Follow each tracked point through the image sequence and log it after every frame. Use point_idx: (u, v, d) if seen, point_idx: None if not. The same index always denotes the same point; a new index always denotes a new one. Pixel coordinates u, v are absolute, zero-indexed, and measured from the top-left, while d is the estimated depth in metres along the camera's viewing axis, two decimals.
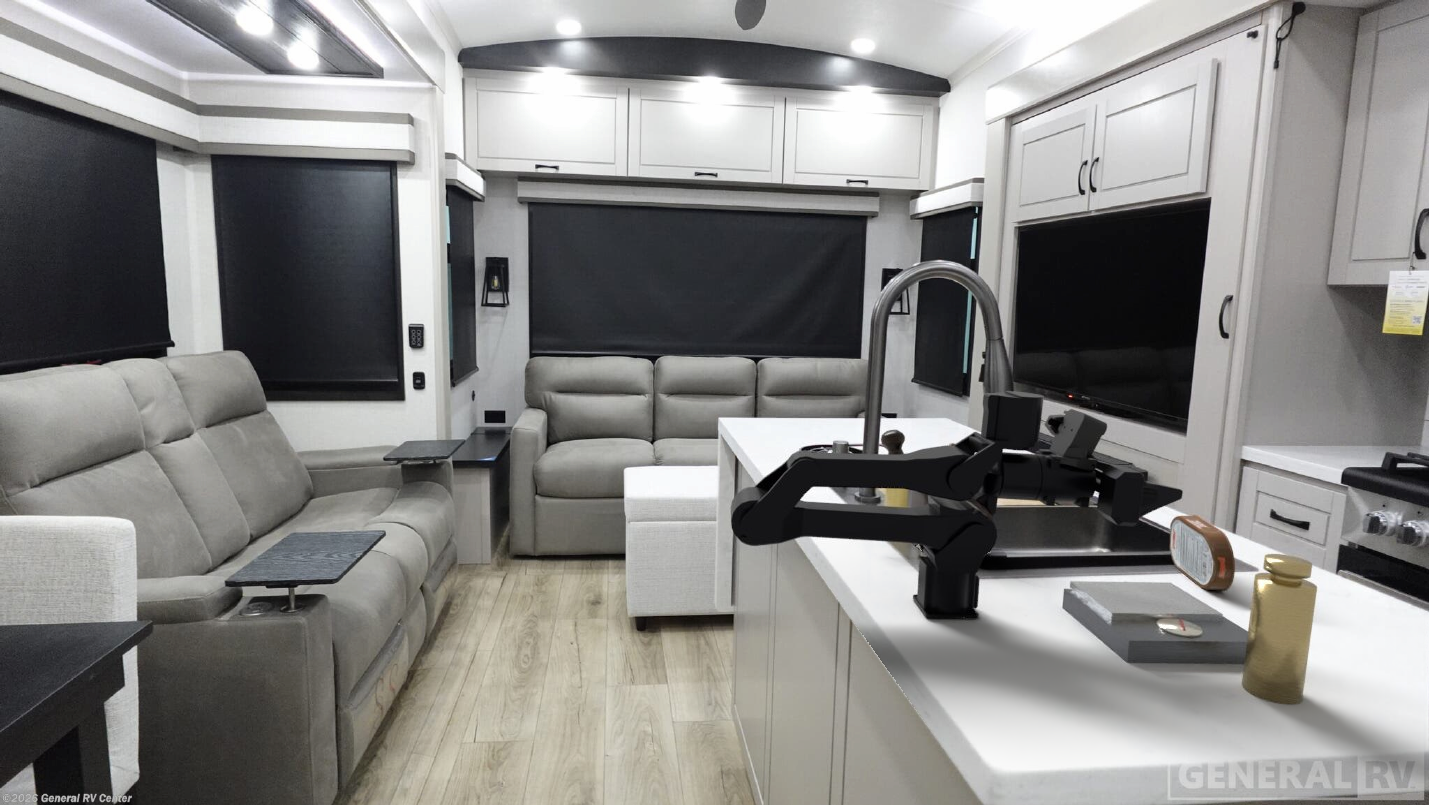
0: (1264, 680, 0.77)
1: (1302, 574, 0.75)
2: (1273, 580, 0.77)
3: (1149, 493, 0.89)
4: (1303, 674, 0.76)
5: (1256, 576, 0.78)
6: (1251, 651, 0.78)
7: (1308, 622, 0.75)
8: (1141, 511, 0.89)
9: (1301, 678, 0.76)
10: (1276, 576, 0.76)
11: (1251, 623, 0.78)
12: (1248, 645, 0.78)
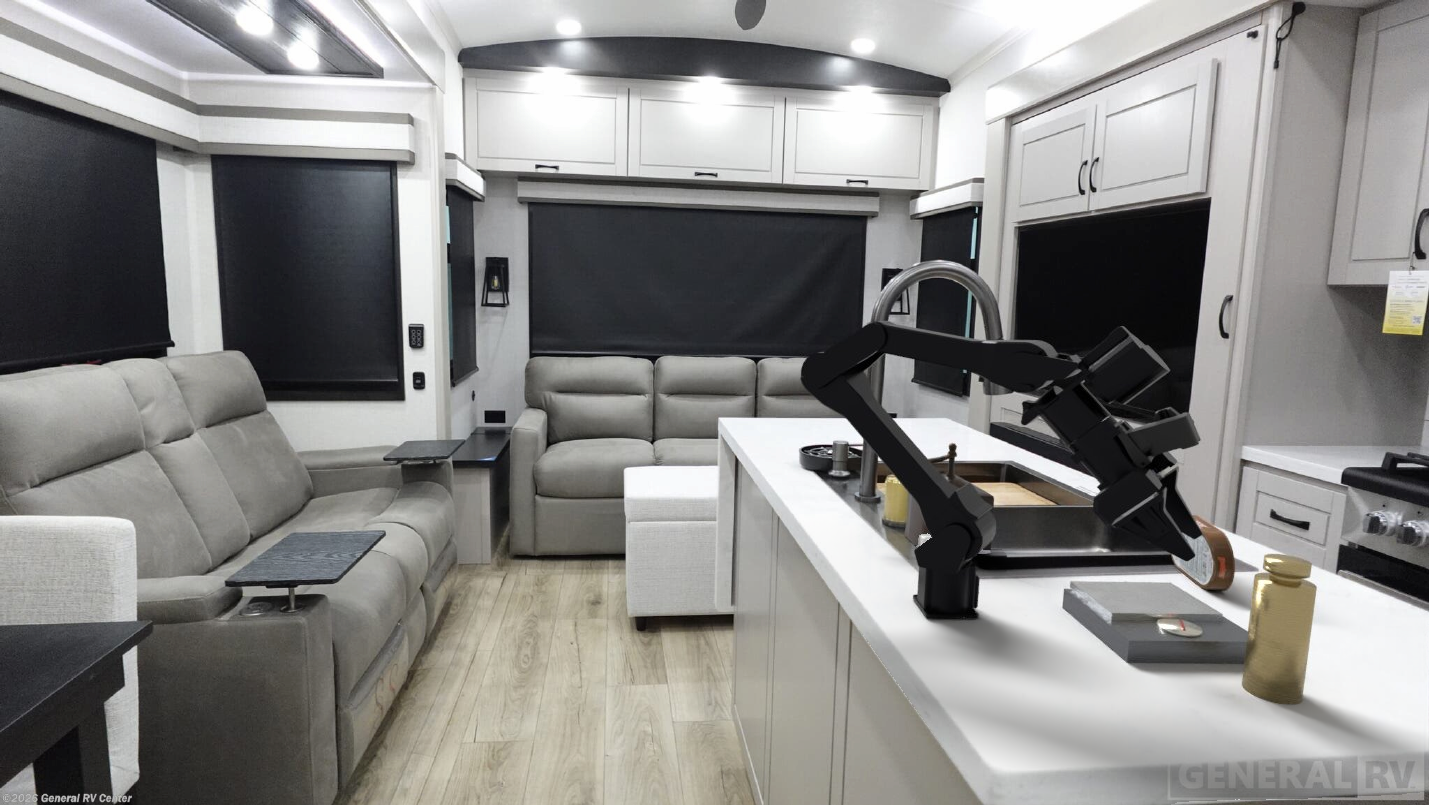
0: (1264, 680, 0.77)
1: (1302, 574, 0.75)
2: (1273, 580, 0.77)
3: (1158, 524, 0.78)
4: (1303, 674, 0.76)
5: (1256, 576, 0.78)
6: (1251, 651, 0.78)
7: (1308, 622, 0.75)
8: (1133, 529, 0.79)
9: (1301, 678, 0.76)
10: (1276, 576, 0.76)
11: (1251, 623, 0.78)
12: (1248, 645, 0.78)
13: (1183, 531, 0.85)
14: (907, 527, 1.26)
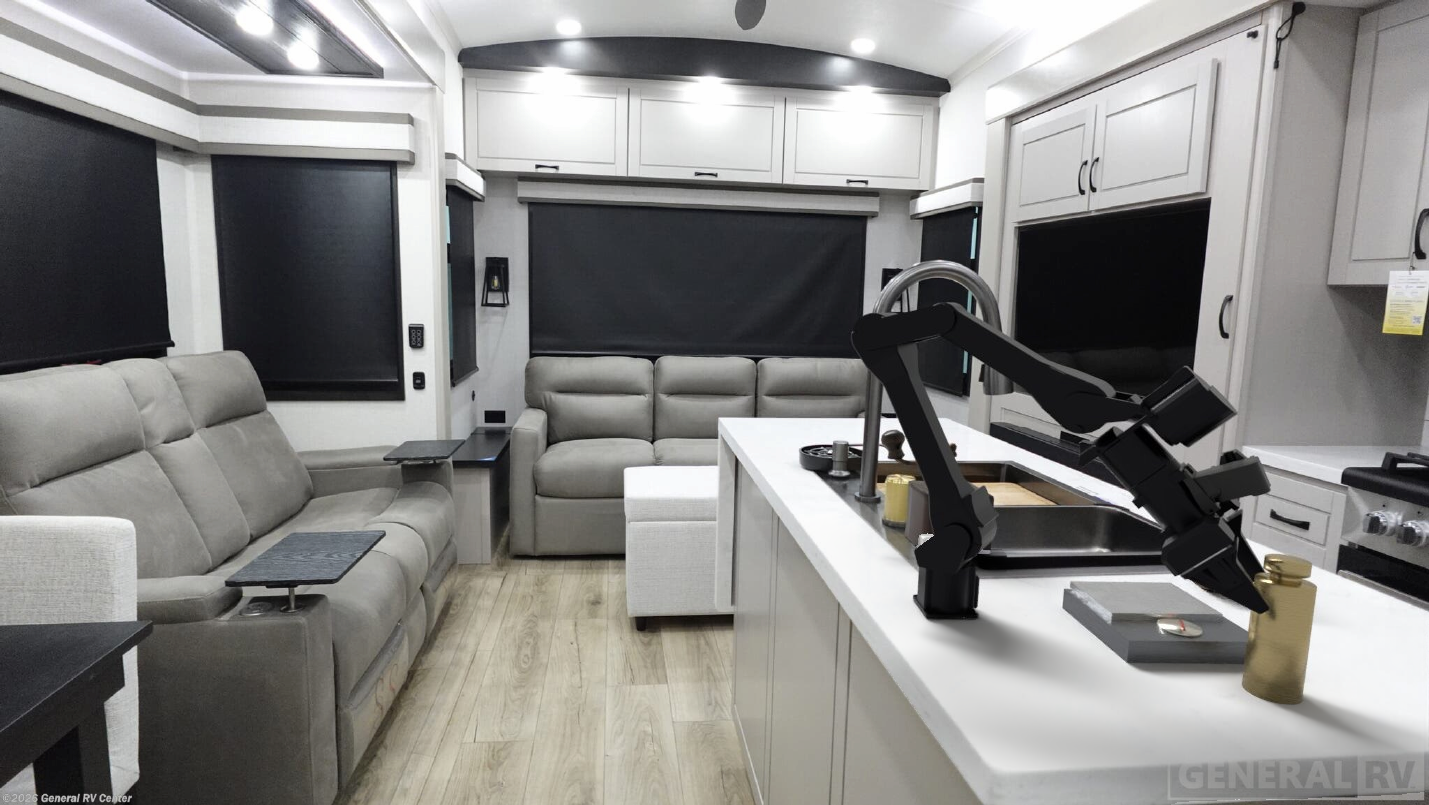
0: (1264, 679, 0.77)
1: (1302, 574, 0.75)
2: (1273, 580, 0.77)
3: (1230, 575, 0.75)
4: (1303, 674, 0.76)
5: (1256, 576, 0.78)
6: (1251, 650, 0.78)
7: (1308, 622, 0.75)
8: (1203, 580, 0.75)
9: (1301, 678, 0.76)
10: (1276, 576, 0.76)
11: (1251, 623, 0.78)
12: (1248, 645, 0.78)
13: (1249, 578, 0.82)
14: (907, 527, 1.26)
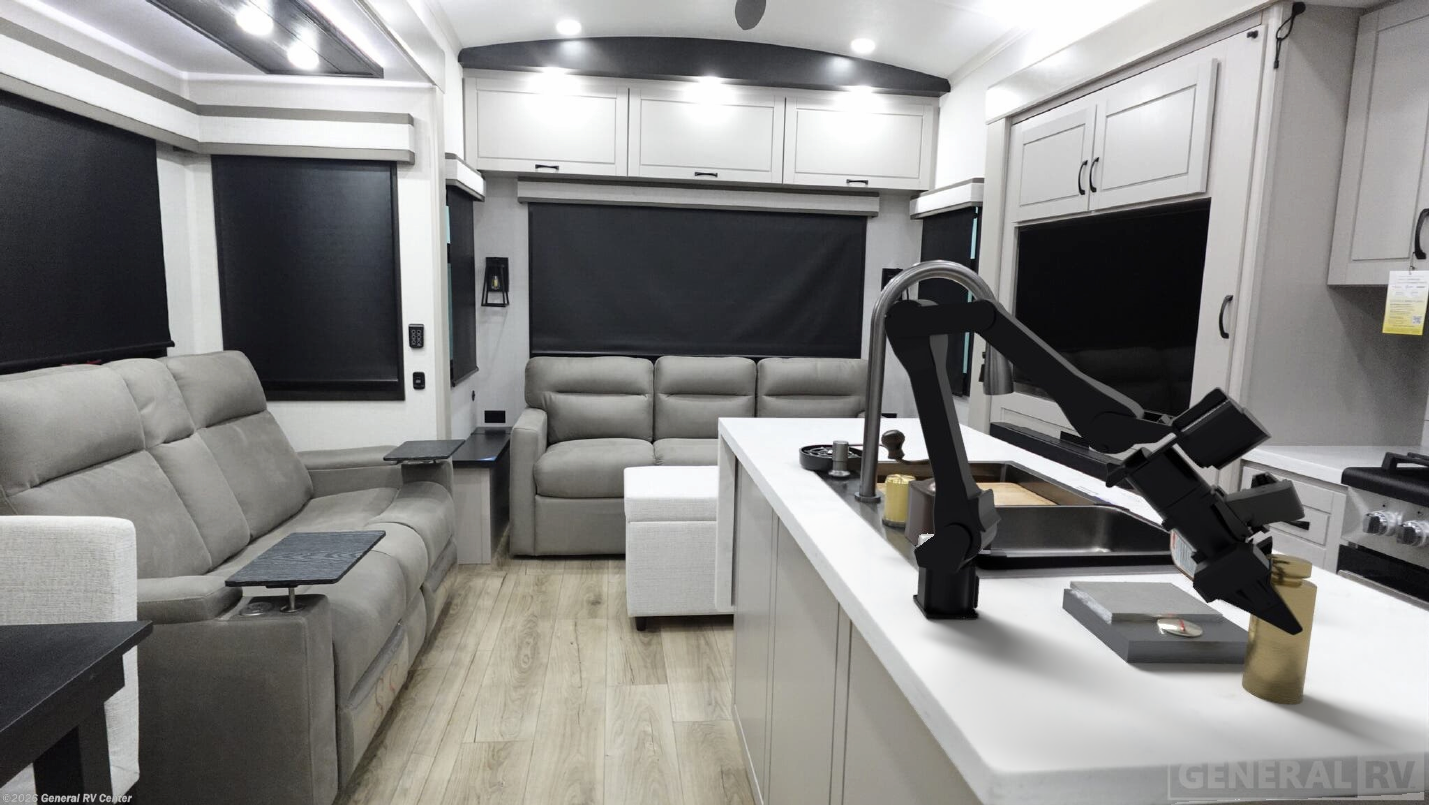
0: (1264, 679, 0.77)
1: (1302, 574, 0.75)
2: (1273, 580, 0.77)
3: (1263, 596, 0.75)
4: (1303, 674, 0.76)
5: None
6: (1251, 651, 0.78)
7: (1308, 622, 0.75)
8: (1236, 600, 0.76)
9: (1301, 678, 0.76)
10: (1276, 576, 0.76)
11: (1251, 623, 0.78)
12: (1248, 645, 0.78)
13: None
14: (907, 527, 1.26)
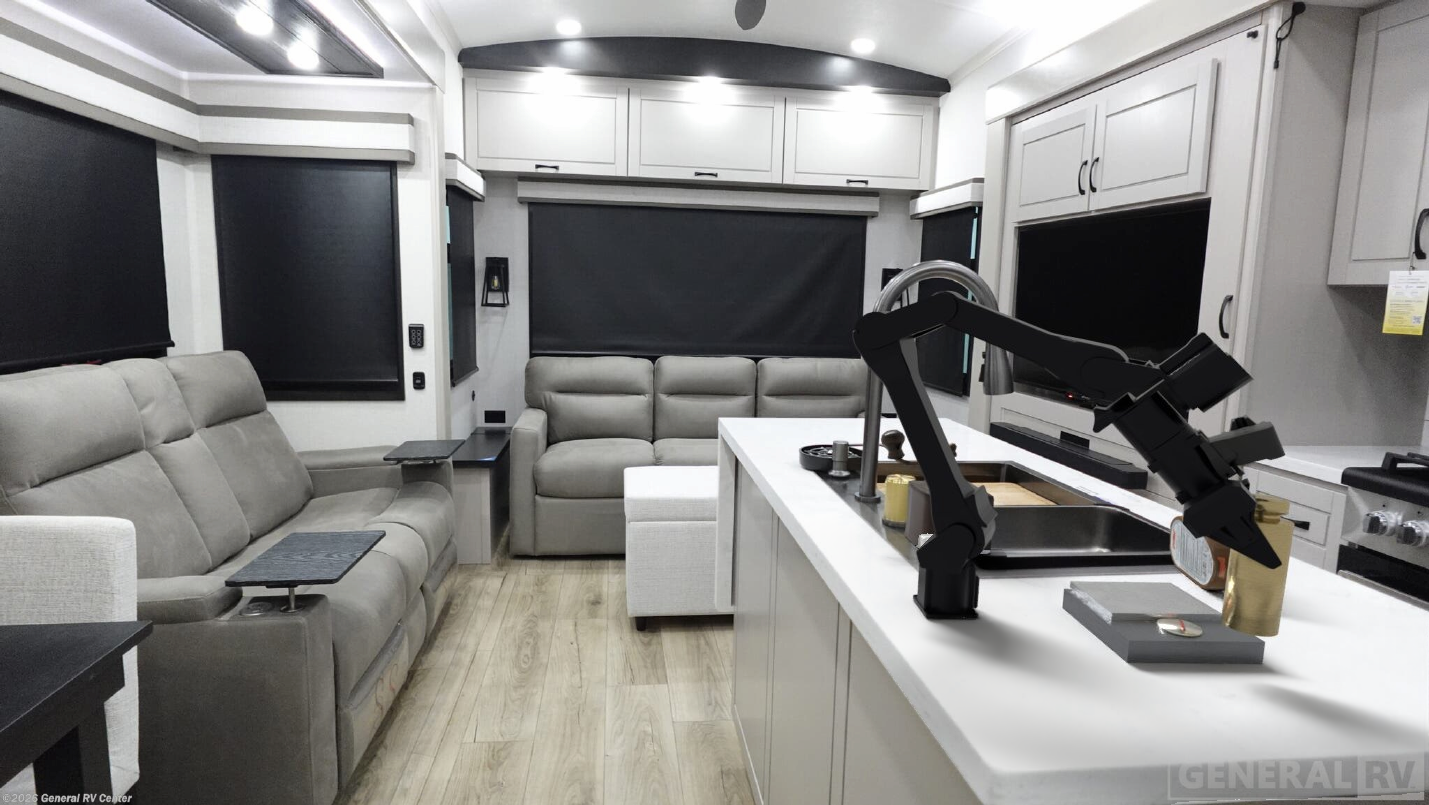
0: (1244, 614, 0.79)
1: (1281, 511, 0.77)
2: None
3: (1246, 532, 0.77)
4: (1280, 607, 0.79)
5: None
6: (1232, 587, 0.80)
7: (1286, 557, 0.78)
8: (1220, 537, 0.78)
9: (1278, 612, 0.79)
10: (1256, 514, 0.79)
11: (1231, 560, 0.81)
12: (1228, 582, 0.81)
13: None
14: (907, 527, 1.26)
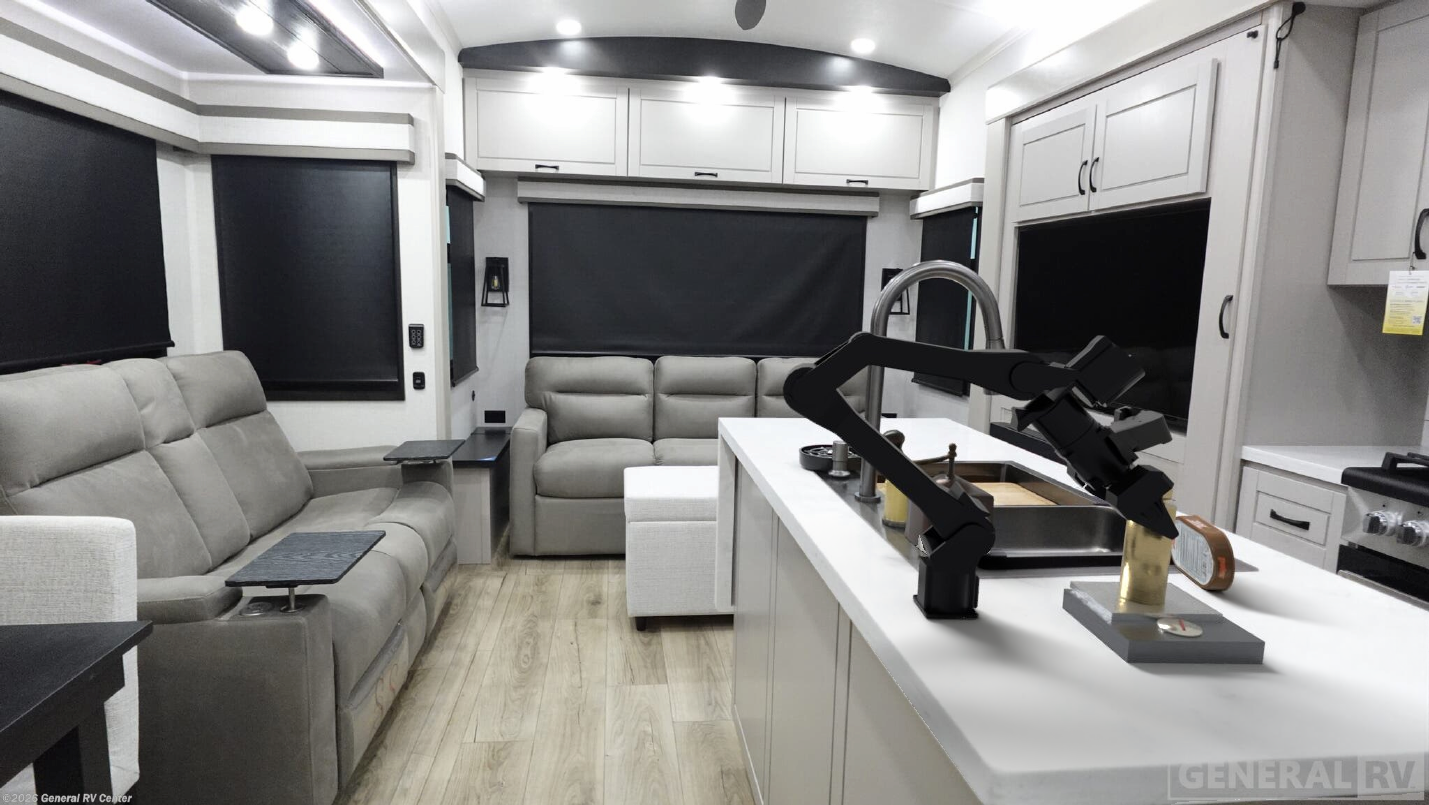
0: (1144, 587, 0.92)
1: (1170, 496, 0.91)
2: None
3: (1154, 511, 0.88)
4: (1167, 577, 0.92)
5: None
6: (1132, 565, 0.92)
7: None
8: (1136, 517, 0.88)
9: (1167, 581, 0.92)
10: None
11: (1130, 542, 0.93)
12: (1127, 561, 0.93)
13: None
14: (907, 527, 1.26)
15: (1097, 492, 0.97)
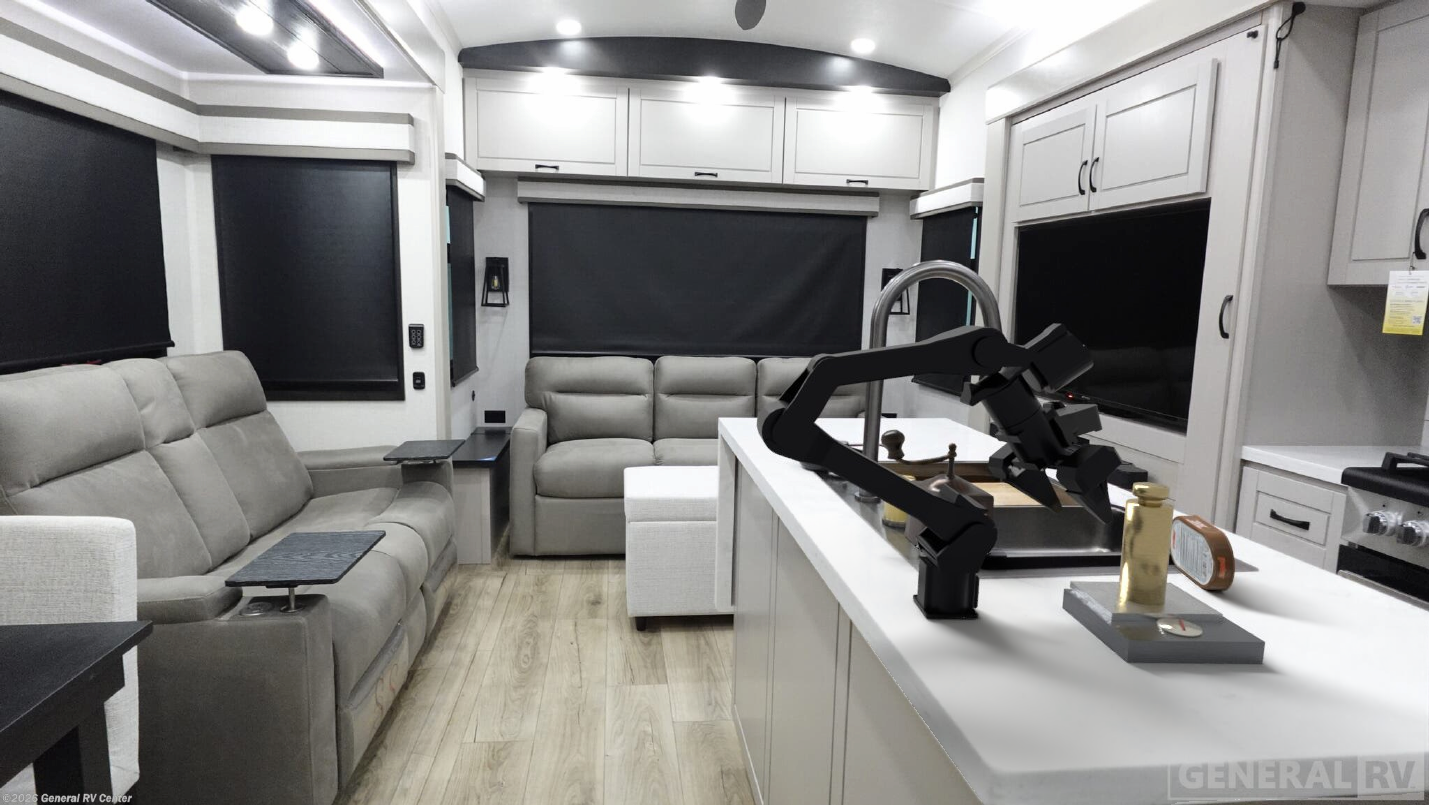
0: (1144, 588, 0.92)
1: (1166, 495, 0.91)
2: (1144, 504, 0.92)
3: (1098, 493, 0.90)
4: None
5: (1129, 503, 0.93)
6: (1131, 566, 0.92)
7: (1170, 534, 0.91)
8: (1085, 497, 0.89)
9: (1166, 581, 0.92)
10: (1146, 500, 0.91)
11: (1128, 543, 0.93)
12: (1126, 562, 0.93)
13: (1051, 507, 1.00)
14: (907, 528, 1.26)
15: (1018, 481, 1.00)
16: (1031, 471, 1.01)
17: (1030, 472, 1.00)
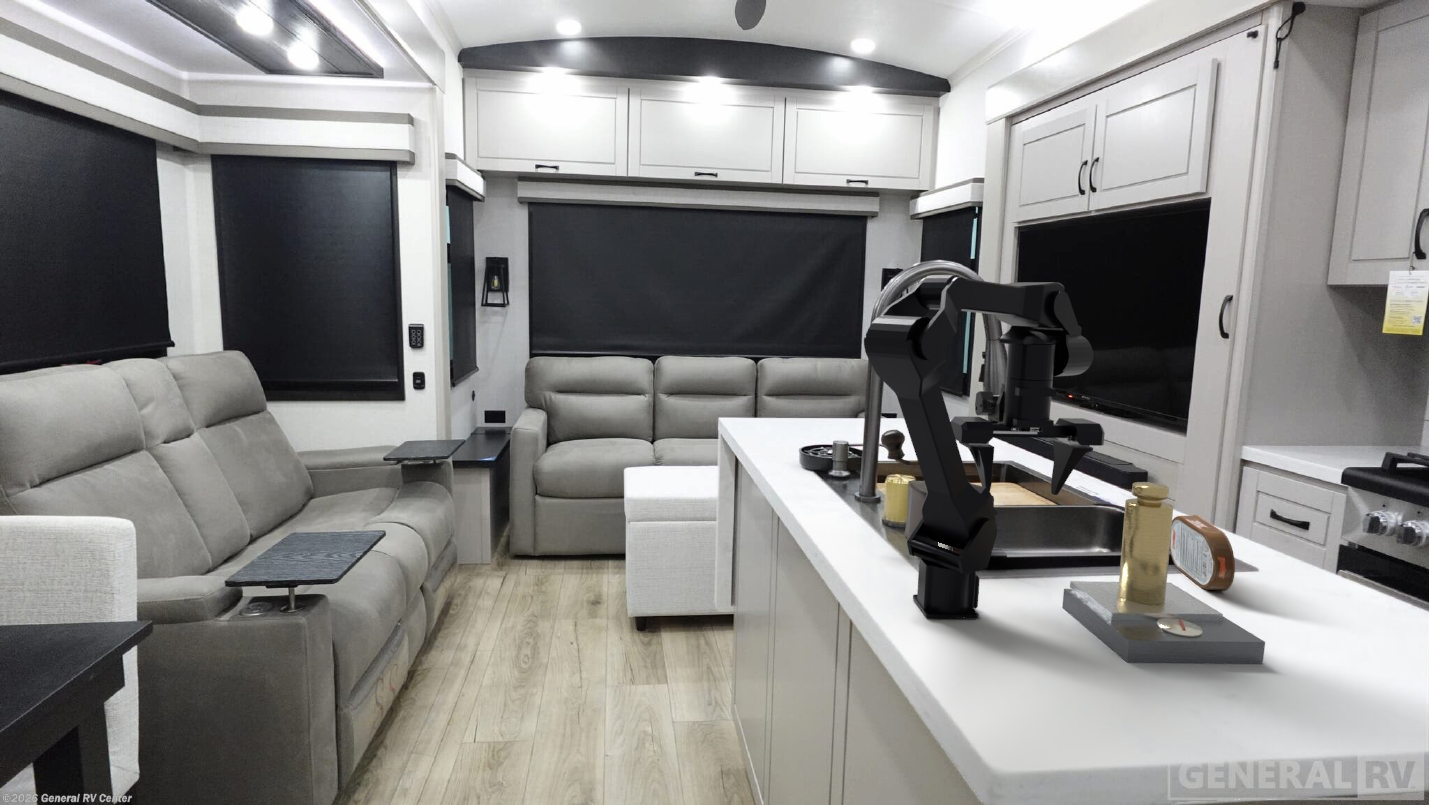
0: (1144, 588, 0.92)
1: (1166, 495, 0.91)
2: (1143, 504, 0.92)
3: None
4: None
5: (1128, 503, 0.93)
6: (1131, 566, 0.92)
7: (1170, 534, 0.91)
8: None
9: (1166, 580, 0.92)
10: (1146, 500, 0.92)
11: (1128, 543, 0.93)
12: (1126, 562, 0.93)
13: (990, 485, 1.03)
14: (907, 527, 1.26)
15: None
16: None
17: None
